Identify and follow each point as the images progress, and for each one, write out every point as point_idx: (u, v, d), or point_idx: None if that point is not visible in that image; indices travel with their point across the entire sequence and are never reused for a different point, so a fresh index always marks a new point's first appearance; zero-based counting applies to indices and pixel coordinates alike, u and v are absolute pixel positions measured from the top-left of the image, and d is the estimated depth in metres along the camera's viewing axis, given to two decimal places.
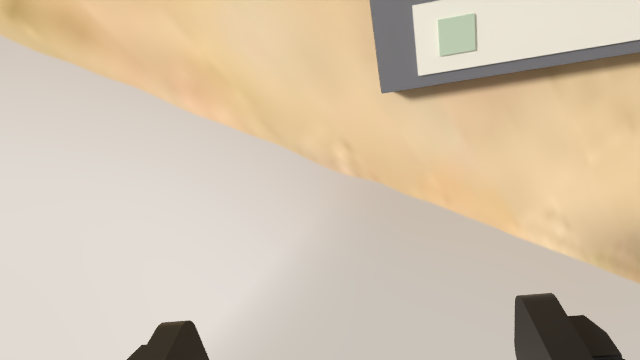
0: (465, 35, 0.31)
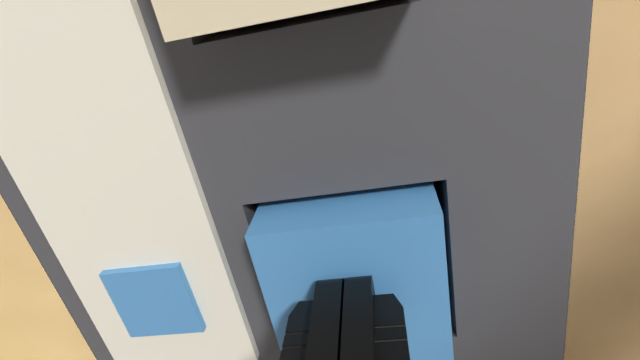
0: None
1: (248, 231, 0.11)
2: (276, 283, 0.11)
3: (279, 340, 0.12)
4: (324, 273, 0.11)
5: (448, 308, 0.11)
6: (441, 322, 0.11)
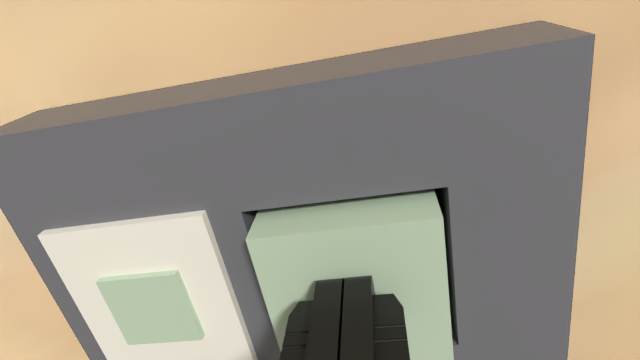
0: (153, 327, 0.13)
1: None
2: None
3: None
4: None
5: None
6: None
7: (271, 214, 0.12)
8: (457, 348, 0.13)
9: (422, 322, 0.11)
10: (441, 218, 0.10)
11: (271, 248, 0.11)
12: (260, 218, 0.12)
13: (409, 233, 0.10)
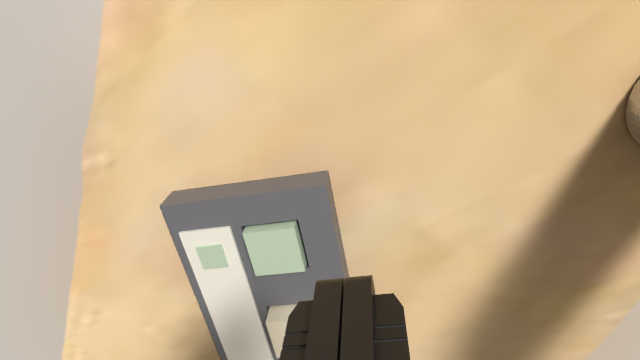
0: (212, 262, 0.41)
1: None
2: None
3: None
4: None
5: None
6: None
7: (250, 226, 0.40)
8: (309, 269, 0.41)
9: (293, 257, 0.40)
10: (293, 227, 0.38)
11: (249, 236, 0.39)
12: (246, 227, 0.40)
13: (286, 231, 0.38)
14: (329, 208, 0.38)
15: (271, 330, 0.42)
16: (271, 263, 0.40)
